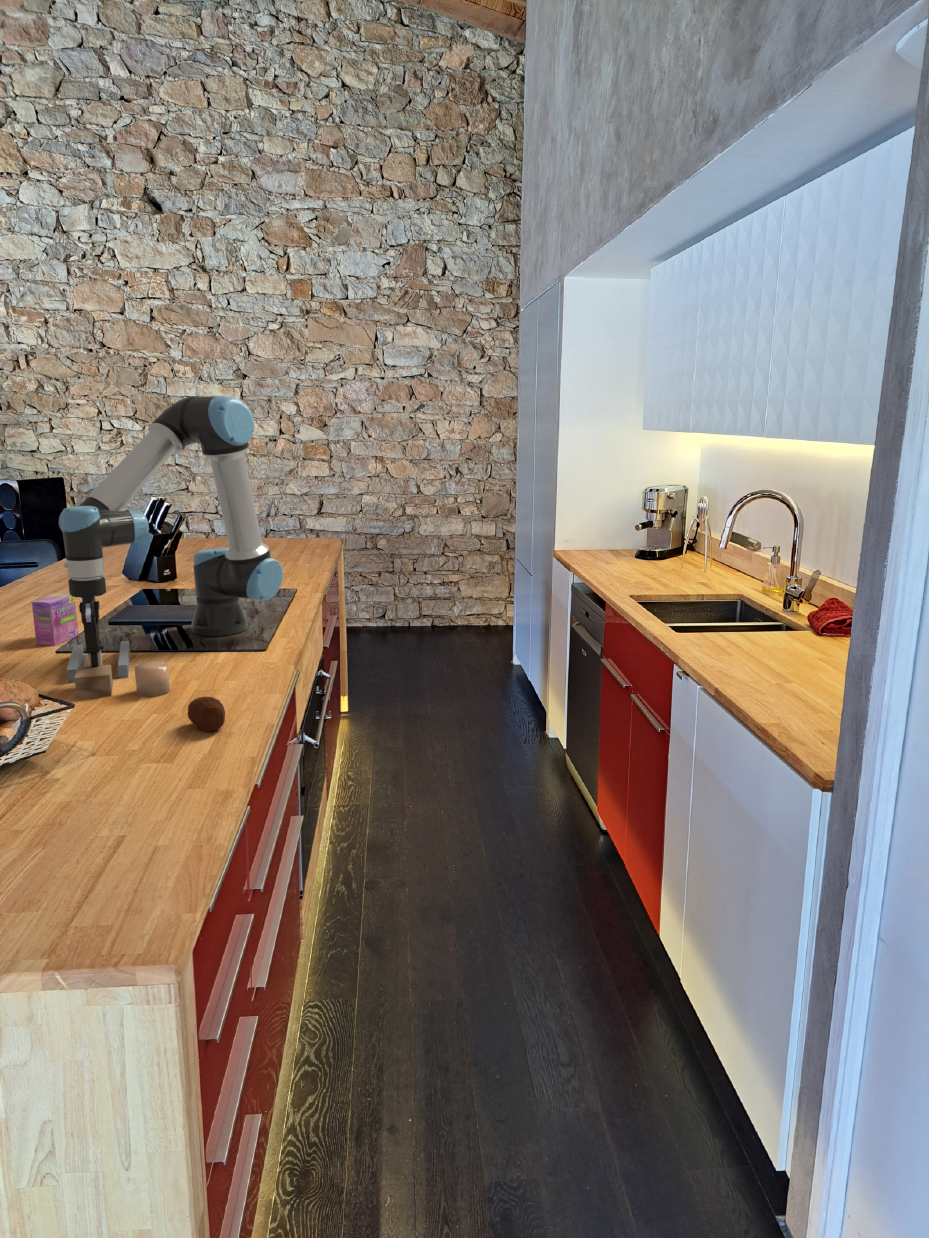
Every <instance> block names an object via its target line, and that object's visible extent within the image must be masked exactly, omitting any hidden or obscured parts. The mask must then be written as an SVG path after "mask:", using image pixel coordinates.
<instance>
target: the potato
mask: <svg viewBox="0 0 929 1238" xmlns="http://www.w3.org/2000/svg"><path fill="white" fill-rule="evenodd" d="M187 716H188V720H189V721H190V722H191V723H192V724H193V725H194V726H195V727H197V728H198V729H200V730H203V731H204V732H205V731H206V732H215V731H217V730H219V729H221V728H222V727H223V726H224V724H225V721H226V710H225V707H224V704H222V702H221V701H220V699H217V698H215V697H213V696H200V697H197V698H195V699H193V700H191V701H190V702H189V704H188V706H187Z"/></svg>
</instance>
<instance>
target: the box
mask: <svg viewBox="0 0 929 1238" xmlns="http://www.w3.org/2000/svg"><path fill="white" fill-rule="evenodd" d="M31 607H32V616H33V626H34V635H35V642H36V645H39V646H51V647H55V646H57V645H60V644H61V643H65V642H66V641H69V640H72V639H74V638H76V637H79V627H78V617H77V609H76V608H77V607H76V597H73V596H71V595H70V593H61V592H60V593H53V594H51V595H48V596H46V597H42V598H40V599H36V600H33V601H31Z"/></svg>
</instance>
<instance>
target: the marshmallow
mask: <svg viewBox="0 0 929 1238" xmlns="http://www.w3.org/2000/svg"><path fill="white" fill-rule="evenodd" d="M169 673H170V672H169V664H168V662H165V661H155V660H154V661H147V662H141V663H138V664H136V665H135V666H134V677H135V689H136V695H137V696H138V697H142V698H143V697H144V698H153V697H160V696H164V695H167V694H168V693H170V691H171V685H170V683H171V682H170V674H169Z"/></svg>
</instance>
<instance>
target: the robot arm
mask: <svg viewBox="0 0 929 1238" xmlns="http://www.w3.org/2000/svg"><path fill="white" fill-rule="evenodd" d="M254 431H255V420H254V416H253V414H252V412H251V410H250V408H249V406H247V404H245V403H244V402H243V401H242V400H240V399H238V398H236V397H232V396H225V395H207V396H204V395H202V396H201V395H200V396H199V395H193V396H191V395H190V396H187V397H184V398H182V399H180V400H178V401H176V402H174V403H172V405H170V406H169V407H168V408H166V409H165V410H163V412H162V413H160V414H159V416H157V417H156V418H155V419H154V420H153V421H152V422H151V424H150V425H149V426H148V433H147V434H146V435H144V437H143V438H142V439H141V440H140V441H139V443H138V444H136V445H135V446H134V448H133V449H132V450H130V452H128V454H127V455H126V456H125V457H124V458H123V459H122V460H121V461H120V462H119V463H118V465H116V466H115V468H113V470H111V472H110V473H109V474H108V475H107V476H106V477H104V479H103V480H102V481H101V482H100V483H99V484H98V485H97V486H96V487H95V488H94V490H93V491H92V492H91V493H90V494H89V495H88V496H87V497H86V498H85V499H83V501H82V502H81V503H80V504H78V505H73V506H69V507H68V506H67V507H66V508H63V510H62V512H61V513H60V515H59V517H58V527H59V528H60V530H61V532H62V537H63V544H64V553H65V555H64V556H65V563H63V567H64V568H66V569H67V577H68V578H69V580H68V581H67V583H68V592H69V593H68V594H70V595H71V596H73V597H75V598H81V602H79V605H78V608H79V613H80V615H81V618H80V619H81V623H82V625H83V626H82V627H83V632H84V639H85V647H86V648H85V650H84V649H83V653H84V655H87V664H88V666H92V667H98V666H100V665H103V660H102V652H101V650H104V648H105V647H104V645H101V636H100V635H101V634H100V627H99V621H100V601H99V600H96V597H100V596H103V595H105V594H106V593H107V585H106V578H105V574H106V572H105V562H104V561H105V559H104V552H103V548H108V547H109V548H110V547H115V546H122V545H128V544H130V545H134V544H136V543H140V542H142V541H144V540H146V539H147V537H148V536H149V531H150V528H149V527H150V526H149V519H147V518H148V517H147V516H146V515H145V514H144V513H143V512H142V511H140V510H138V509H131V510H130V509H125V510H122V509H124V507H125V506H126V505H127V504H128V503H129V502H130V501H131V500H132V499H133V497H134V496H135V495H136V494H137V493H138V492H139V491H140V490H141V489H143V486H145V484H146V483H147V482H148V481H149V480H150V479H151V478H152V477H153V476H154V475H155V474H156V473H157V471H159V469H160V468H161V467H163V465H164V464H165V463H166V462H167V461H168V460H169V459H170V457H171V456H172V455H173V454H174V455H176V454H177V455H178V454H180V453H181V452H182V451H183V450H184V449H185V448H186V447H188V446H191V445H192V444H200V448H201V449H200V450H201V452H202V455H203V457H205V458H207V459H208V460H209V461H210V465H211V470H212V474H213V478H214V483H215V489H216V492H217V497H218V501H219V507H220V510H221V516H222V521H223V525H224V530H225V533H226V538H227V542H228V546H226V547H225V546H224V547H216V548H208V549H205V550H204V549H203V550H199V551H197V552H195V554H194V555H193V565H192V566H193V576H194V586H195V587H194V588H195V598H196V606H195V610H194V614H193V617H192V620H191V633H193V634H194V635H199V636H203V637H222V636H229V635H235V634H239V633H243V632H245V631H247V629H248V620H247V617H246V615H245V612H244V610H243V609H244V608H243V607H242V604H241V602H240V598H241V599H245V600H246V599H247V600H250V601H252V602H256V601H259V602H261V601H262V602H263V601H268V600H271V599H272V598H274V597H275V595H276V594H278V592H279V590H280V588H281V586H282V584H283V580H284V570H283V566H282V565H281V563H280V561H278V560H277V559H275V558H273V557H271V551H270V547H269V545H267V544H265V543H264V542H263V541H262V536H261V530H260V527H259V526H260V525H259V521H258V516H257V511H256V505H255V501H254V495H253V491H252V486H251V485H252V484H251V481H250V477H249V471H248V466H247V462H246V455H245V454H246V452H247V451H248V450H249V448H250V446H249V442H250V441H251V439H253V438H252V437H253V436H254V434H253V432H254Z"/></svg>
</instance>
